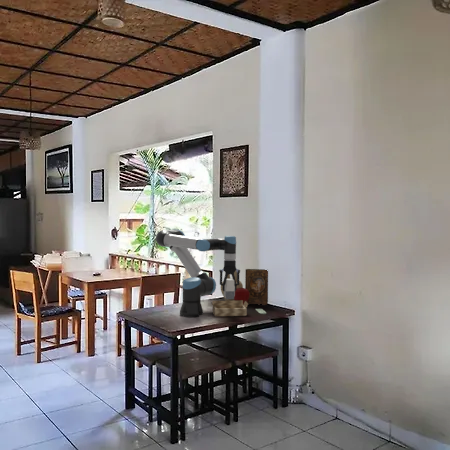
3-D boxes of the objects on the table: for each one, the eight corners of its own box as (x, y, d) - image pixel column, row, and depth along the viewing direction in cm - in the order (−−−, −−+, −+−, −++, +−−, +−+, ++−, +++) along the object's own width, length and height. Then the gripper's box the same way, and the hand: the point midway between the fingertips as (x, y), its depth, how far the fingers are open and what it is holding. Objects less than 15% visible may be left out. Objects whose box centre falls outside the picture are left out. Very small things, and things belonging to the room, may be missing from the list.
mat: (248, 314, 318) (248, 313, 318) (244, 310, 330) (244, 309, 330) (266, 313, 320) (266, 312, 320) (261, 310, 332) (262, 308, 332)
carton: (212, 317, 306) (213, 304, 306) (210, 313, 319) (210, 300, 319) (248, 316, 310) (248, 304, 310) (244, 312, 323) (244, 300, 322)
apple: (250, 307, 341) (251, 288, 341) (234, 307, 340) (234, 288, 339) (247, 303, 353) (247, 285, 353) (231, 303, 352) (232, 285, 351)
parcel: (226, 299, 310) (226, 280, 309) (224, 297, 316) (224, 278, 316) (234, 299, 310) (234, 280, 310) (232, 296, 317) (232, 278, 317)
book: (244, 304, 350) (245, 269, 350) (245, 302, 356) (245, 268, 355) (267, 305, 349) (268, 270, 348) (267, 303, 354) (268, 269, 353)
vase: (247, 301, 361) (247, 261, 360) (229, 304, 351) (229, 262, 350) (233, 298, 374) (234, 259, 373) (215, 300, 364) (216, 260, 363)
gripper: (216, 260, 307) (216, 297, 308) (244, 260, 310) (244, 296, 311) (215, 259, 315) (214, 295, 316) (242, 259, 318) (241, 294, 319)
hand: (229, 295), depth 313 cm, fingers closed on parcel, 5 cm apart
